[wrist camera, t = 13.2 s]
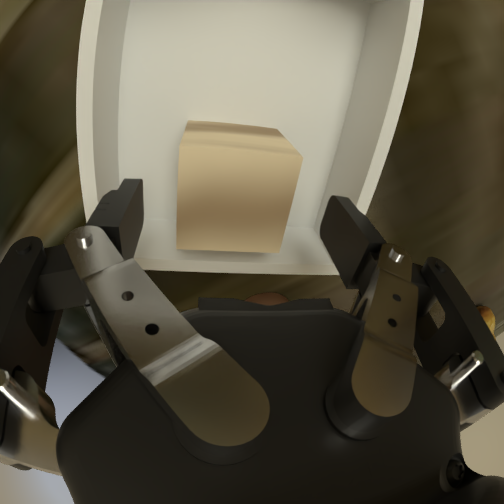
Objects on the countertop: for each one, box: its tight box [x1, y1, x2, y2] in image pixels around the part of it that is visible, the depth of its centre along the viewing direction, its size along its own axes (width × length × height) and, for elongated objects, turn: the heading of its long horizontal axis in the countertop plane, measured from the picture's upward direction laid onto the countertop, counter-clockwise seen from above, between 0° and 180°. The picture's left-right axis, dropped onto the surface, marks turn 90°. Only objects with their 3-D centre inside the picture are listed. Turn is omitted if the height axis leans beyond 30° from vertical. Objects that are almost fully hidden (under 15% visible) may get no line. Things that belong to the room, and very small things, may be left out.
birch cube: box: [176, 120, 303, 253], centre depth 14 cm, size 5×5×5 cm
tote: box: [76, 0, 424, 275], centre depth 13 cm, size 18×15×5 cm
